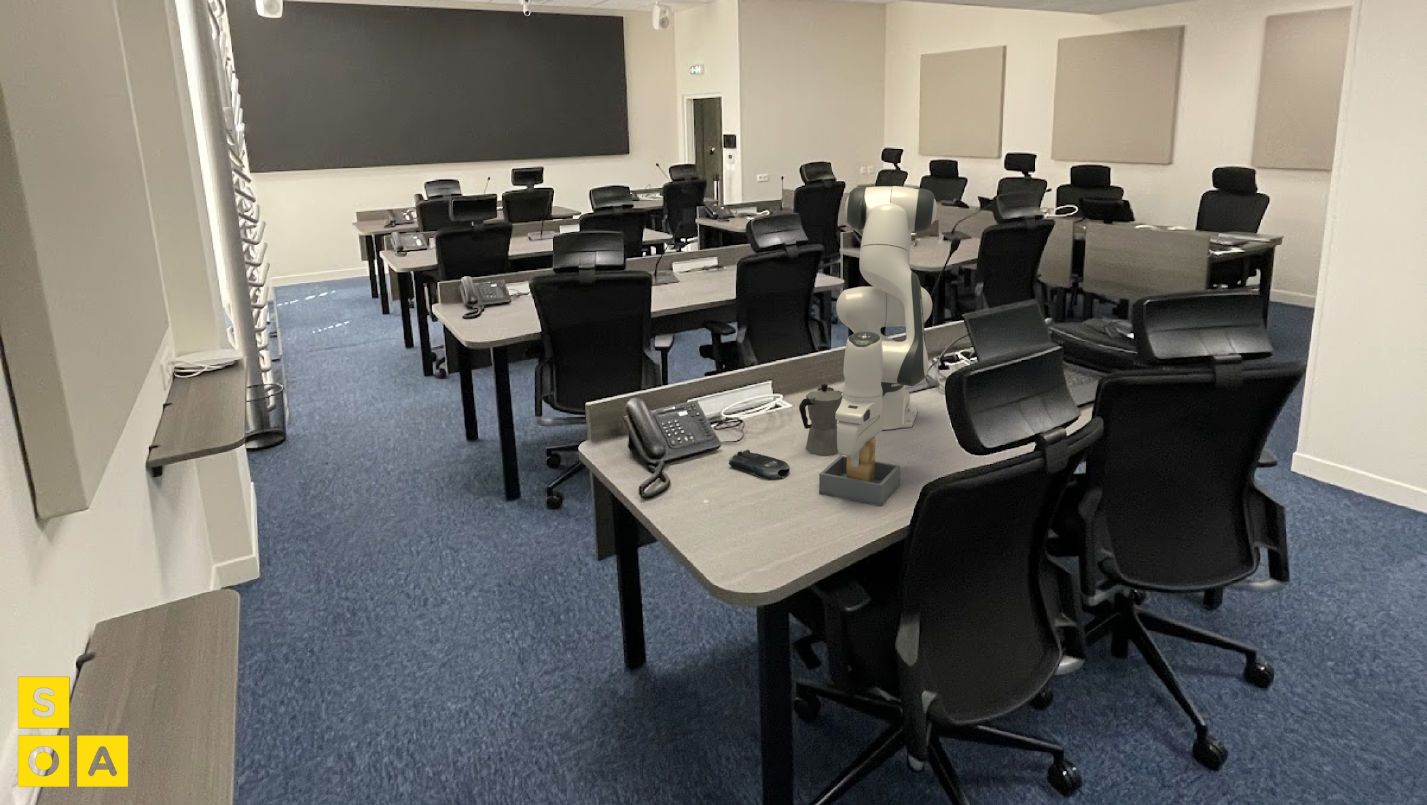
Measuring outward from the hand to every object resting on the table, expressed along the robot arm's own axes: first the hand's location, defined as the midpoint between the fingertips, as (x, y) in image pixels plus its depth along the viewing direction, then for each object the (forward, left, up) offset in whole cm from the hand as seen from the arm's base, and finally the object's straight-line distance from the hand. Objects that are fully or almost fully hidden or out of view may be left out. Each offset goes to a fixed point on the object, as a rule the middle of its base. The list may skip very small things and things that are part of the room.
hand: (860, 461), depth 202 cm
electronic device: (0, -26, -8) cm, 27 cm away
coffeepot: (-19, -18, -7) cm, 27 cm away
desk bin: (0, 0, -7) cm, 7 cm away
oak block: (0, 0, -5) cm, 5 cm away
